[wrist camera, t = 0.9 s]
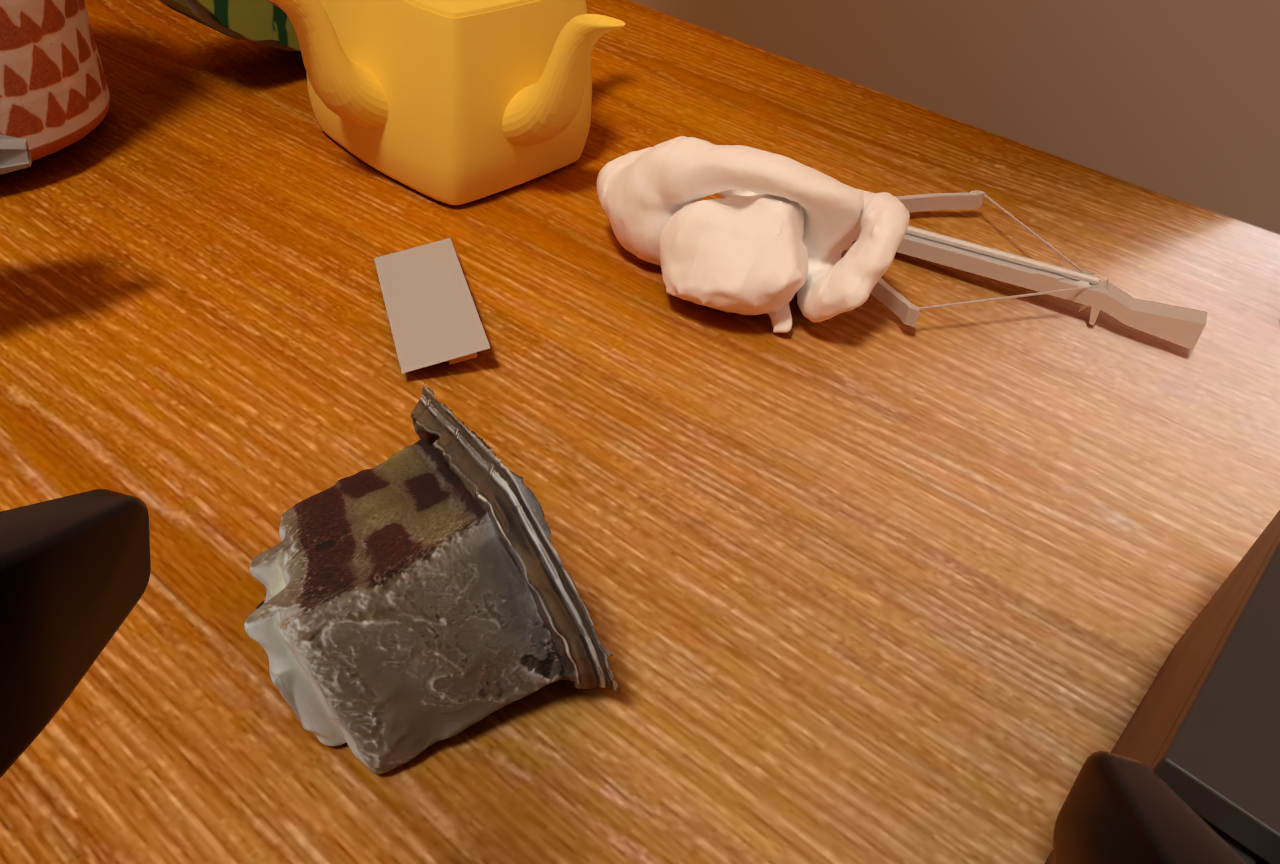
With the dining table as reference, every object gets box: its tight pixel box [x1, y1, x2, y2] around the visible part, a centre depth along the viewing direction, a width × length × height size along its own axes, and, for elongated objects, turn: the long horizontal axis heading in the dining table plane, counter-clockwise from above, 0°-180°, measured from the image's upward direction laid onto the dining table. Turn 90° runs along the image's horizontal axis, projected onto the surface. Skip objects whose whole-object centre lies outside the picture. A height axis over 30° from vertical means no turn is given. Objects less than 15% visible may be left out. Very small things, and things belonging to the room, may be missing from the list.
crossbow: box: [841, 190, 1207, 350], centre depth 43 cm, size 16×13×2 cm
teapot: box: [270, 0, 625, 205], centre depth 45 cm, size 15×14×10 cm
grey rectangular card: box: [374, 238, 490, 374], centre depth 37 cm, size 3×8×1 cm, turn 19°
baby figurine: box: [597, 136, 910, 333], centre depth 40 cm, size 9×12×8 cm
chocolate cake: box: [244, 383, 621, 774], centre depth 25 cm, size 10×7×12 cm
